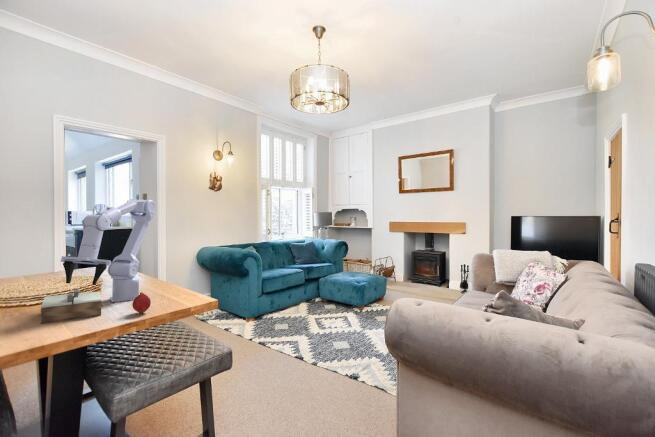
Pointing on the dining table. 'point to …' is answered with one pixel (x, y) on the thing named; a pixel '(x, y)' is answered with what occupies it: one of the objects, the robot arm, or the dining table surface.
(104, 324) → the dining table surface
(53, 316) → the box
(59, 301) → the outer panel
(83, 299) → the inner panel
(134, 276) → the robot arm
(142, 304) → the onion
